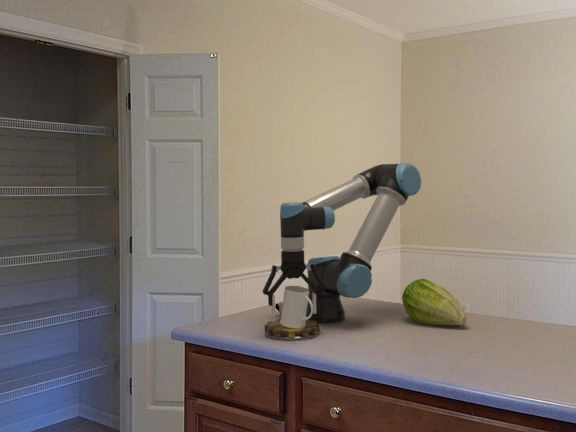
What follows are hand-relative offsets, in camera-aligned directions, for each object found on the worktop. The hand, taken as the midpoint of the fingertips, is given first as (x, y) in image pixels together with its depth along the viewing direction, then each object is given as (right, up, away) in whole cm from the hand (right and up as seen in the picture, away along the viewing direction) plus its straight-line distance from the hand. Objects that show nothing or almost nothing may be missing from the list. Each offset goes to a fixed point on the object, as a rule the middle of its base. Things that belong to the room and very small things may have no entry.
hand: (294, 314), depth 193 cm
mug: (+1, -4, 0) cm, 4 cm away
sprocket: (-1, -6, +4) cm, 7 cm away
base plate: (-1, -7, +4) cm, 8 cm away
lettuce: (+50, -6, +14) cm, 52 cm away
